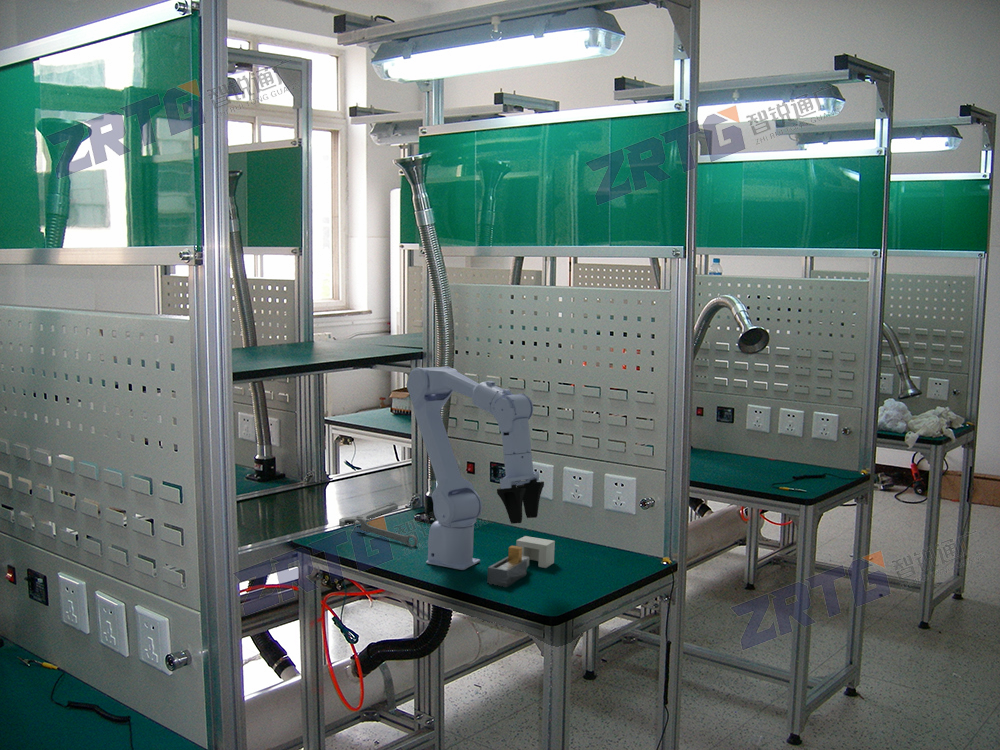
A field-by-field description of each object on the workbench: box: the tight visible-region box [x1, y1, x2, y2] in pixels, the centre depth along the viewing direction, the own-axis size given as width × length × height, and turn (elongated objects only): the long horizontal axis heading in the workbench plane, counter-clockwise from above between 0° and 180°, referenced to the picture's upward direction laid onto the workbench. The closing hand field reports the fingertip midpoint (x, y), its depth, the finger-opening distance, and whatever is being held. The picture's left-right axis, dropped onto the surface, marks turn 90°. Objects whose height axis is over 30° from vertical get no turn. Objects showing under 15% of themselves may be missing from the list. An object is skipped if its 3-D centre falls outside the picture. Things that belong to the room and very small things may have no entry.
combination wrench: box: [354, 518, 418, 548], centre depth 218 cm, size 4×1×20 cm
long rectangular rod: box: [498, 545, 530, 570], centre depth 193 cm, size 2×12×5 cm, turn 153°
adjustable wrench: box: [338, 502, 399, 527], centre depth 239 cm, size 25×6×2 cm, turn 153°
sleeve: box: [486, 556, 528, 588], centre depth 191 cm, size 4×10×3 cm, turn 154°
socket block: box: [515, 535, 556, 569], centre depth 203 cm, size 7×4×5 cm, turn 64°
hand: (524, 520), depth 186 cm, fingers open, 7 cm apart
